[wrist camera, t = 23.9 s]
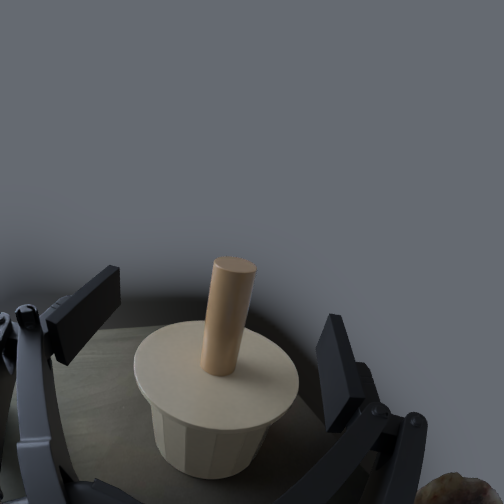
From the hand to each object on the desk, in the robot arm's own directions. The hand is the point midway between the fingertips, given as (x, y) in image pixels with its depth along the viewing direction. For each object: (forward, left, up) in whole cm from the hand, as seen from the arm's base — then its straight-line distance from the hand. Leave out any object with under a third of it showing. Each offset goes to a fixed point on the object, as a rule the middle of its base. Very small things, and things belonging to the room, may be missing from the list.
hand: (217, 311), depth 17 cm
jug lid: (0, +3, -8) cm, 9 cm away
